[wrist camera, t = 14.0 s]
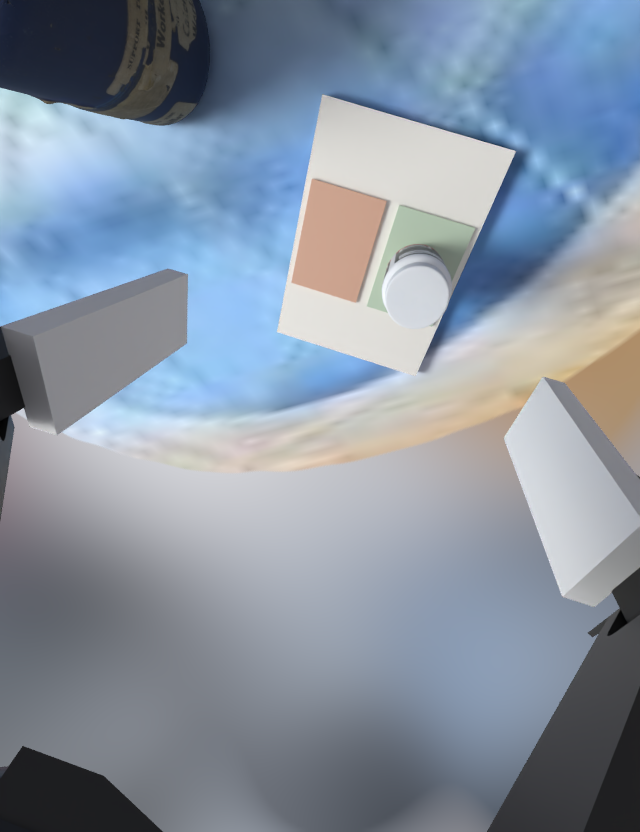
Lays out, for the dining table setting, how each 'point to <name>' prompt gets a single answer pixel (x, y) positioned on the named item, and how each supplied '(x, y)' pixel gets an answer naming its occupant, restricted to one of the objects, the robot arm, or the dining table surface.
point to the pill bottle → (416, 287)
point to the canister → (107, 55)
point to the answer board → (381, 225)
